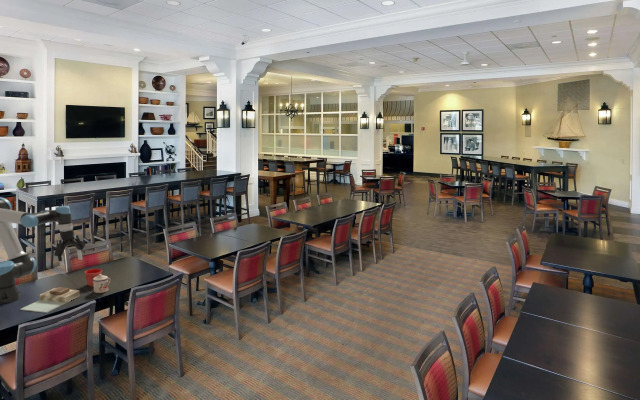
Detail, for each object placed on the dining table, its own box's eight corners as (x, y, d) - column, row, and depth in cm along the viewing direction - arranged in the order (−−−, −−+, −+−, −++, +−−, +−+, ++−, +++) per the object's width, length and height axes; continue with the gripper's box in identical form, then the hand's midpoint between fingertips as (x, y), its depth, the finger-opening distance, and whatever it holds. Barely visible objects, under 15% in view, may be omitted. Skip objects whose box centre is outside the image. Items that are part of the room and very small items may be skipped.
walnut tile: (49, 294, 257) (49, 291, 257) (58, 290, 264) (58, 287, 264) (61, 295, 256) (60, 292, 256) (69, 291, 263) (69, 288, 263)
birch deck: (40, 300, 256) (39, 294, 256) (55, 293, 268) (54, 287, 267) (65, 303, 253) (65, 297, 253) (79, 296, 265) (79, 290, 265)
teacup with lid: (100, 294, 270) (99, 277, 268) (90, 292, 273) (89, 275, 271) (115, 288, 281) (114, 272, 279) (105, 286, 284) (104, 270, 282)
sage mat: (20, 309, 243) (20, 309, 243) (40, 300, 256) (39, 299, 256) (47, 313, 240) (46, 312, 240) (65, 303, 253) (65, 302, 253)
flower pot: (100, 280, 294) (99, 267, 293) (104, 285, 286) (103, 271, 284) (84, 283, 287) (83, 270, 286) (87, 288, 279) (86, 274, 278)
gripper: (53, 234, 246) (59, 268, 249) (87, 225, 270) (92, 256, 273) (43, 234, 248) (49, 268, 251) (78, 226, 272) (83, 256, 275)
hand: (71, 262), depth 262 cm, fingers open, 13 cm apart
